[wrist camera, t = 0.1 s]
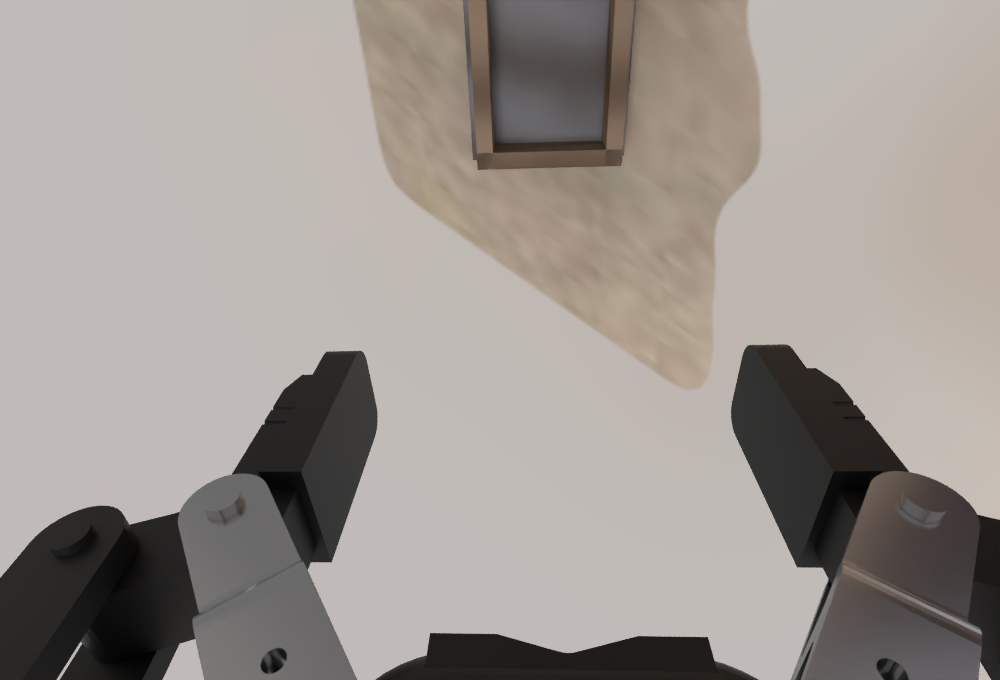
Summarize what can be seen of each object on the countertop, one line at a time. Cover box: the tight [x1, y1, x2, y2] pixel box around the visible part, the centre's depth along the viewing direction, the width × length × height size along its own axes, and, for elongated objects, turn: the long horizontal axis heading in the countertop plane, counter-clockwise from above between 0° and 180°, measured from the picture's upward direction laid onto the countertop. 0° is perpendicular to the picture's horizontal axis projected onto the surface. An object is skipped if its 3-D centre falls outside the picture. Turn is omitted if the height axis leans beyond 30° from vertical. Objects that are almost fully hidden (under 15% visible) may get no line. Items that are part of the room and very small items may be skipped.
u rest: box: [463, 0, 636, 170], centre depth 33 cm, size 12×10×4 cm
